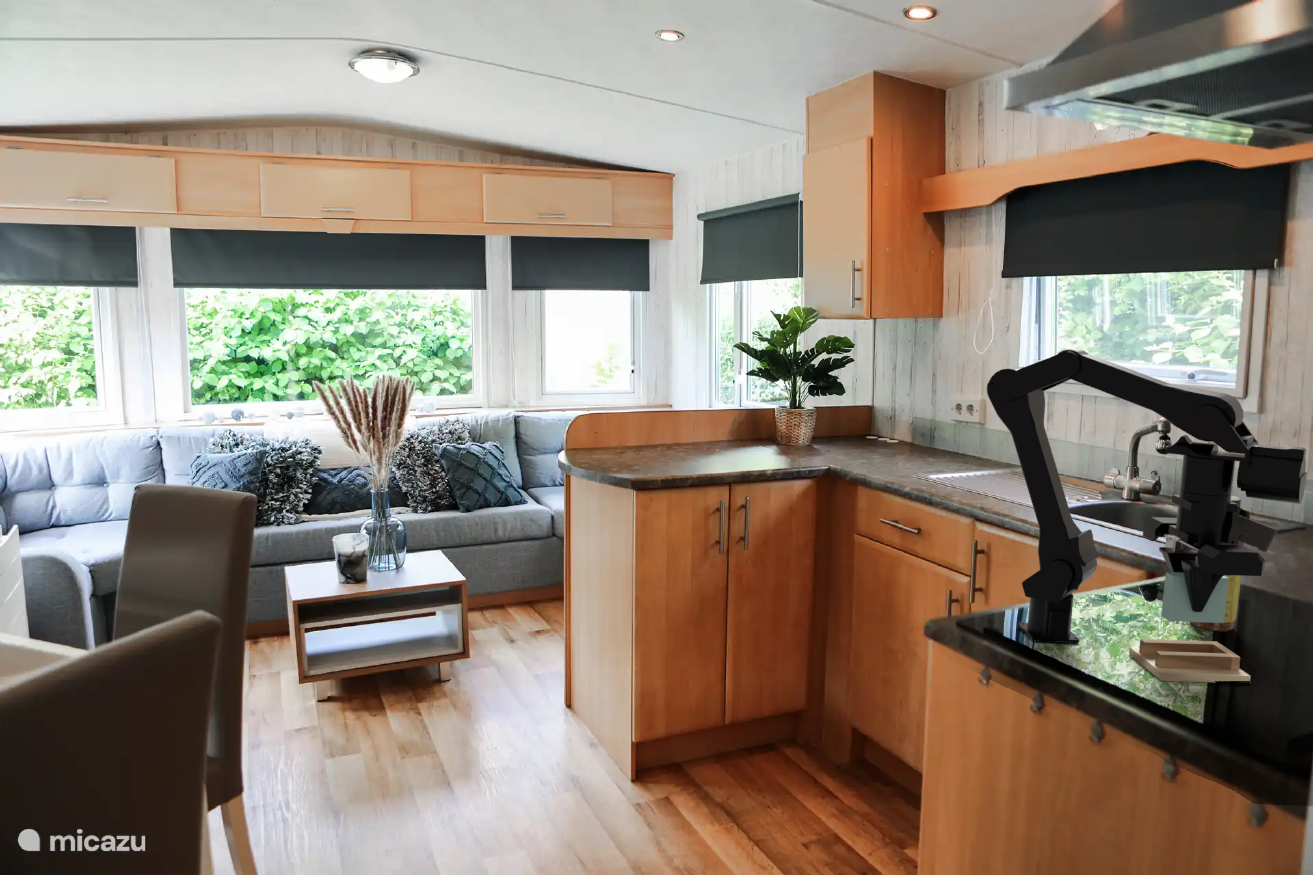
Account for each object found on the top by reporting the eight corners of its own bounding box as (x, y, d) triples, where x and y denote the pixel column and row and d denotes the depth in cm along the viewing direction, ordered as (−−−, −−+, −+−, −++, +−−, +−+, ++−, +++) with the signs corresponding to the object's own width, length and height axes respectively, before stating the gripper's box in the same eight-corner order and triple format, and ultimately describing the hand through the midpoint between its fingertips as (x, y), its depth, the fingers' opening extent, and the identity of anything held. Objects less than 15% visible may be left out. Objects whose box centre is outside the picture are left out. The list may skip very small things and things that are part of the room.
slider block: (1161, 615, 123) (1165, 571, 123) (1215, 617, 123) (1220, 573, 122) (1168, 621, 121) (1173, 576, 121) (1223, 622, 121) (1229, 578, 120)
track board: (1128, 653, 128) (1130, 634, 127) (1211, 656, 127) (1213, 636, 127) (1161, 680, 119) (1163, 659, 119) (1249, 683, 119) (1252, 662, 118)
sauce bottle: (1191, 616, 144) (1204, 489, 141) (1238, 625, 140) (1253, 495, 137) (1182, 627, 139) (1196, 496, 136) (1231, 637, 135) (1246, 502, 132)
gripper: (1317, 509, 110) (1301, 636, 113) (1229, 479, 129) (1216, 588, 131) (1220, 507, 111) (1206, 633, 113) (1146, 476, 129) (1135, 585, 131)
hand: (1192, 608), depth 122 cm, fingers closed on slider block, 2 cm apart
